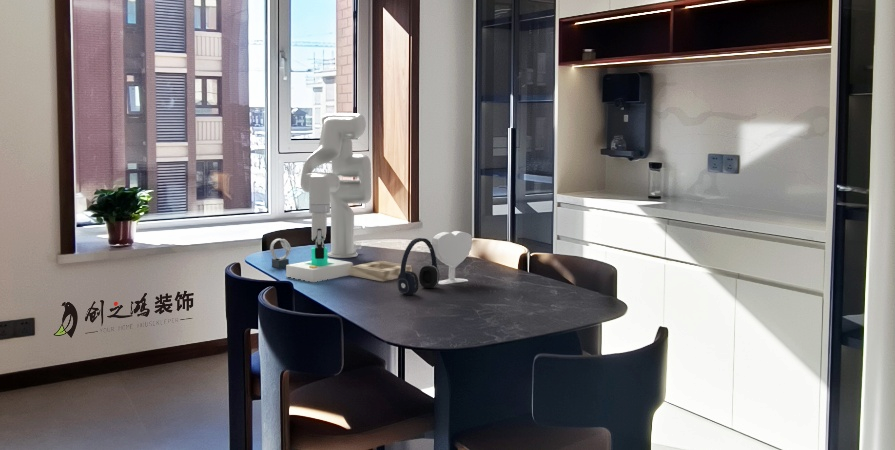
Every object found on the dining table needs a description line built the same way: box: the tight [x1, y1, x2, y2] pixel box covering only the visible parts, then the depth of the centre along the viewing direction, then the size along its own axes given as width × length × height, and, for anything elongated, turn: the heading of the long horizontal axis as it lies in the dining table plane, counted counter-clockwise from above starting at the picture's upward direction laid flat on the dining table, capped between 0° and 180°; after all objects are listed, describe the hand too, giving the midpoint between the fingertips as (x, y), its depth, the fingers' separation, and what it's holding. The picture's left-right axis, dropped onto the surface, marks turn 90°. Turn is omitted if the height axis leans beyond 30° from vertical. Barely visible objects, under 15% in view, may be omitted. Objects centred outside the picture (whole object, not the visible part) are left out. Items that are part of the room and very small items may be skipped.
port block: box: [285, 258, 354, 283], centre depth 320 cm, size 20×14×5 cm
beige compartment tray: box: [350, 260, 413, 282], centre depth 323 cm, size 16×16×4 cm
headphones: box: [397, 237, 440, 296], centre depth 296 cm, size 20×7×18 cm, turn 149°
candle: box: [310, 246, 329, 267], centre depth 320 cm, size 6×6×12 cm
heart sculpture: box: [431, 230, 473, 285], centre depth 313 cm, size 16×5×18 cm, turn 127°
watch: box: [269, 238, 292, 269], centre depth 336 cm, size 6×8×11 cm
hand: (319, 256), depth 320 cm, fingers open, 7 cm apart
